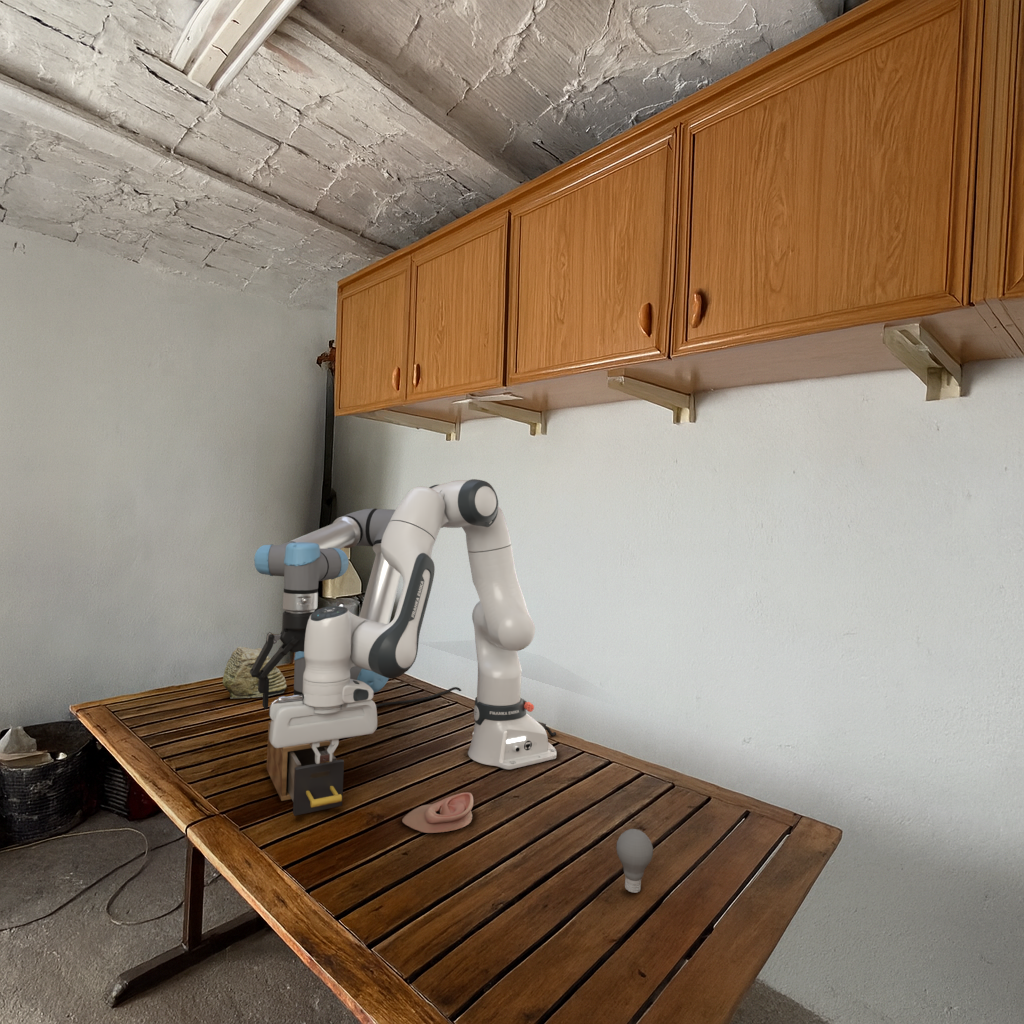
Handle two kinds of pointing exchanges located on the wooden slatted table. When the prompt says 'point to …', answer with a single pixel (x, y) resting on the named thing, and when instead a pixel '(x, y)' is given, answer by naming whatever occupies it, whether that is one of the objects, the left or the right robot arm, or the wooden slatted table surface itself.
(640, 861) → the light bulb
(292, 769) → the drawer
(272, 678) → the fossil
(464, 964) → the wooden slatted table surface
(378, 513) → the left robot arm
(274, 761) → the cabinet
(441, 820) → the anatomical model
